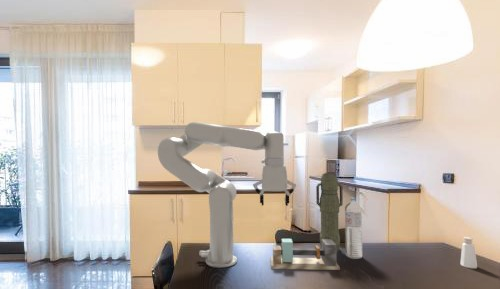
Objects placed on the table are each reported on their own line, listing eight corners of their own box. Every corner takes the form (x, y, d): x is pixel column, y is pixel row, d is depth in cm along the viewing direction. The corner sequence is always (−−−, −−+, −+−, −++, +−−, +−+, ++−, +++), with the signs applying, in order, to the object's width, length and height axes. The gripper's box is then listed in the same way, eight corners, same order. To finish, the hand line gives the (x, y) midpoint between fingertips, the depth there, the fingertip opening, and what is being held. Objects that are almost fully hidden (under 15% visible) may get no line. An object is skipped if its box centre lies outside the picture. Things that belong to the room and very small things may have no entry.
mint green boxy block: (282, 261, 106) (282, 242, 106) (281, 257, 110) (281, 238, 111) (292, 262, 106) (292, 242, 106) (291, 257, 110) (291, 238, 111)
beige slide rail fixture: (271, 268, 104) (271, 244, 104) (270, 259, 113) (270, 237, 113) (339, 269, 103) (339, 245, 103) (333, 260, 112) (333, 238, 112)
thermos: (314, 246, 130) (313, 172, 131) (338, 245, 131) (337, 172, 132) (320, 252, 121) (319, 174, 122) (346, 252, 122) (345, 174, 123)
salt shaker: (458, 262, 111) (457, 234, 111) (475, 264, 108) (474, 236, 109) (461, 267, 106) (461, 238, 106) (479, 269, 103) (478, 240, 104)
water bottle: (364, 260, 112) (363, 199, 113) (346, 258, 114) (345, 199, 115) (360, 254, 119) (359, 197, 120) (344, 253, 120) (343, 196, 121)
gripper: (252, 162, 107) (252, 206, 106) (296, 162, 106) (297, 207, 105) (253, 162, 114) (253, 203, 114) (294, 162, 113) (295, 203, 113)
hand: (274, 205), depth 109 cm, fingers open, 9 cm apart
